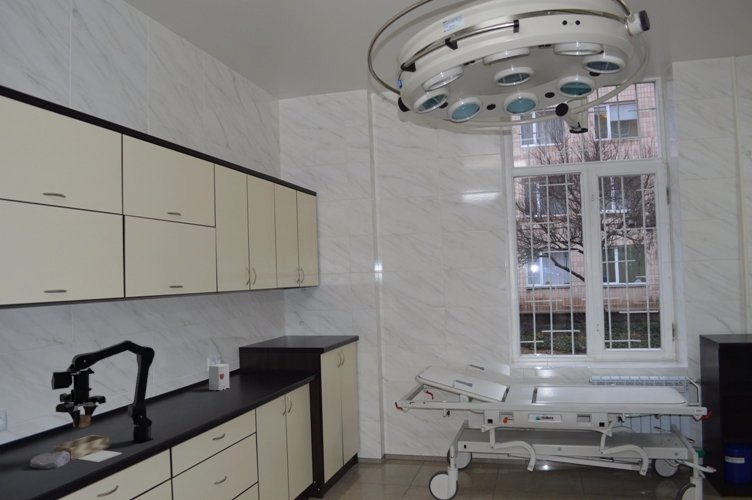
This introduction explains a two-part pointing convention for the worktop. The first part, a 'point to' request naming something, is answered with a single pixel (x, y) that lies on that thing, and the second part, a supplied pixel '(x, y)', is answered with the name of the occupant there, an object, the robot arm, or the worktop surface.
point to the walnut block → (83, 421)
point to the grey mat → (99, 456)
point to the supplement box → (218, 376)
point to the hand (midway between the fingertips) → (81, 425)
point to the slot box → (84, 446)
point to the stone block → (50, 460)
